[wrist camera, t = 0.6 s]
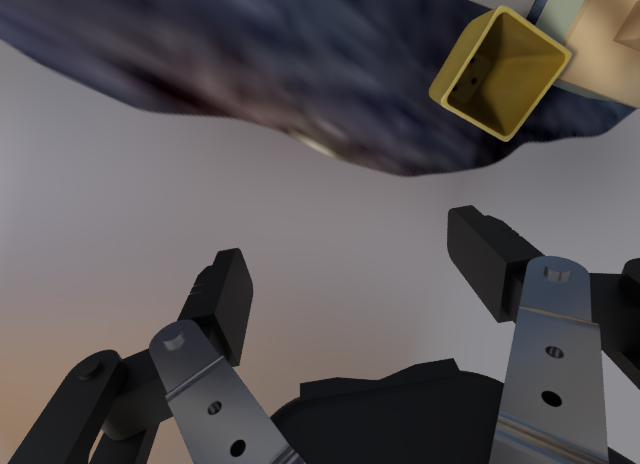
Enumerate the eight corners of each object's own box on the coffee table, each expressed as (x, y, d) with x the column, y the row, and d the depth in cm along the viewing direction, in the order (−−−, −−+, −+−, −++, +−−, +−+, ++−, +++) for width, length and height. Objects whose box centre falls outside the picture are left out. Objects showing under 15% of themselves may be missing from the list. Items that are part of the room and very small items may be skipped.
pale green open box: (571, -47, 32) (626, -69, 26) (655, -9, 34) (721, -22, 28) (512, 70, 37) (547, 72, 31) (587, 98, 39) (633, 104, 33)
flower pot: (466, 127, 40) (508, 144, 32) (409, 95, 37) (439, 104, 29) (514, 55, 36) (575, 54, 28) (454, 14, 34) (502, 1, 26)
